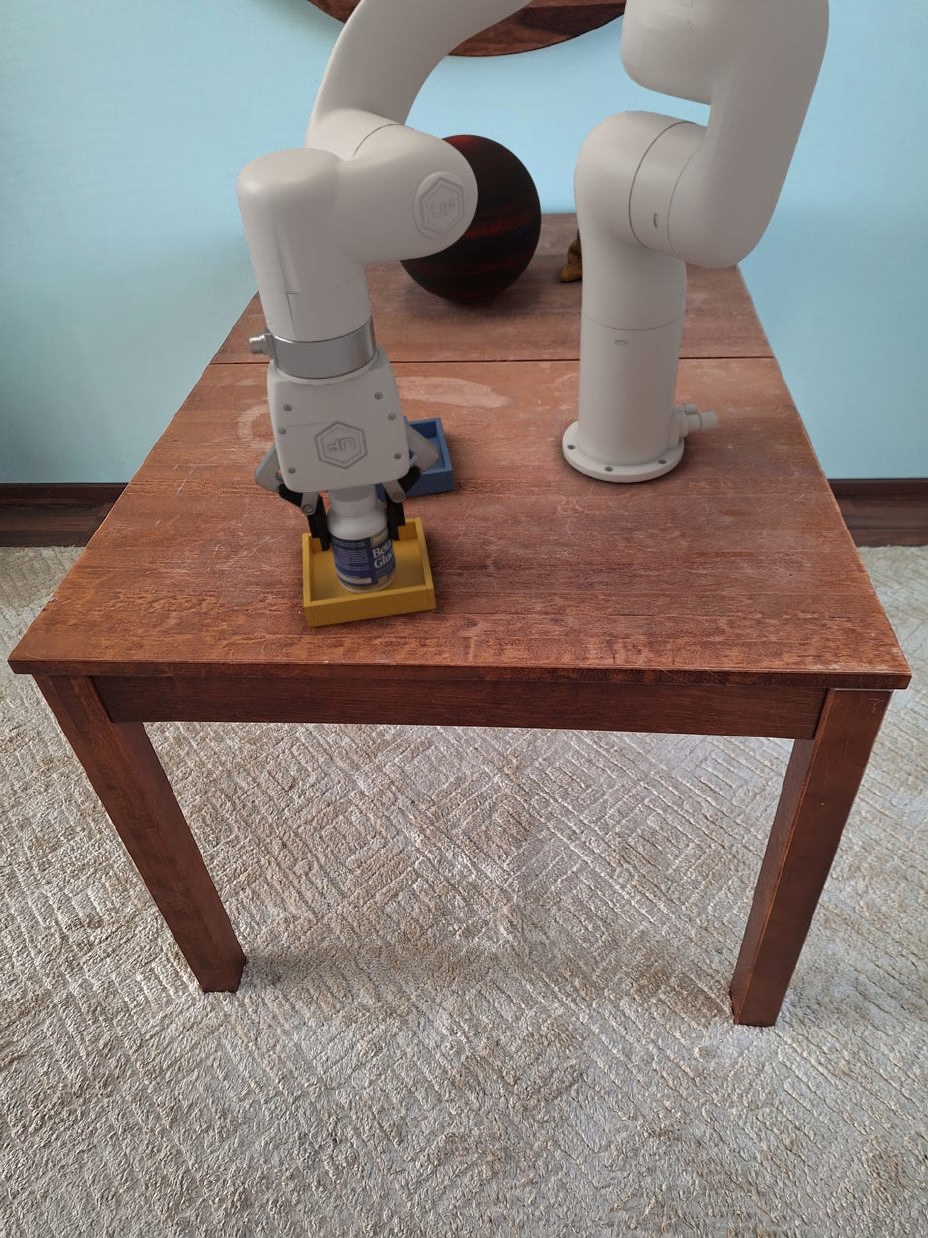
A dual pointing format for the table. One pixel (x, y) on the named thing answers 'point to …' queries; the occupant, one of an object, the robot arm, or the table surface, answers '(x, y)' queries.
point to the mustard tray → (340, 605)
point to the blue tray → (439, 472)
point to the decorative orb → (486, 228)
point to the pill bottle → (360, 539)
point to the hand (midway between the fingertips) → (360, 534)
